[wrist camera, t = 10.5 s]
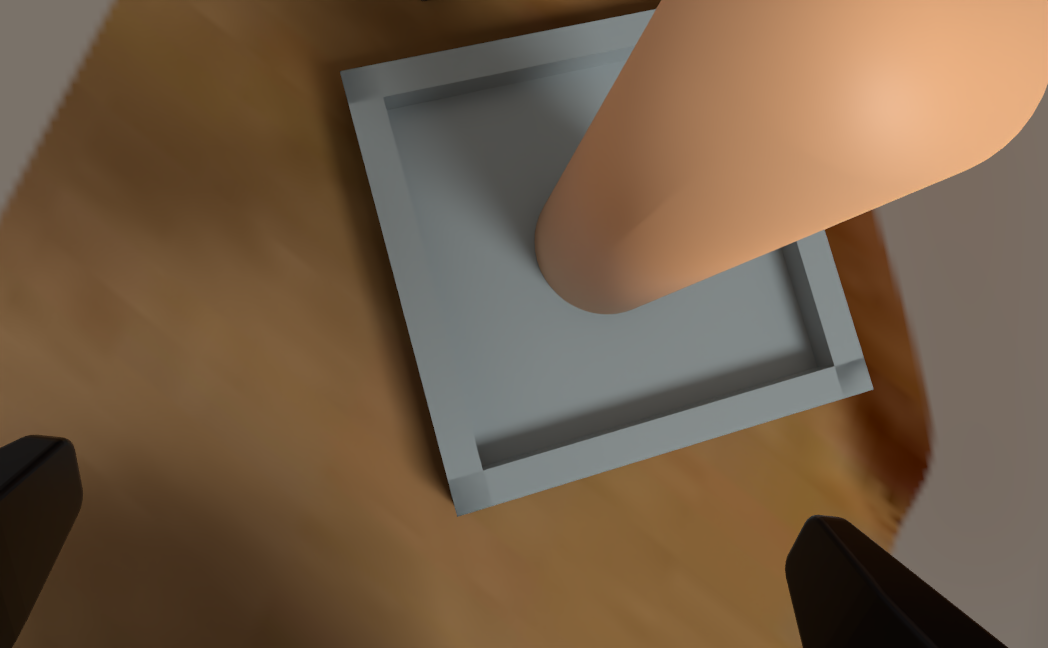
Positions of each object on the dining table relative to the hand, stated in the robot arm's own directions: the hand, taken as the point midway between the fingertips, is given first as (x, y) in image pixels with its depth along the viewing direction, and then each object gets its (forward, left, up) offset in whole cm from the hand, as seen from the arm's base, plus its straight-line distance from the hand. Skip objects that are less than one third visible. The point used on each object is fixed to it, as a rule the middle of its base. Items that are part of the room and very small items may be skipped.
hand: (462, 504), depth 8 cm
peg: (+4, -6, -11) cm, 14 cm away
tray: (+4, -6, -12) cm, 14 cm away
